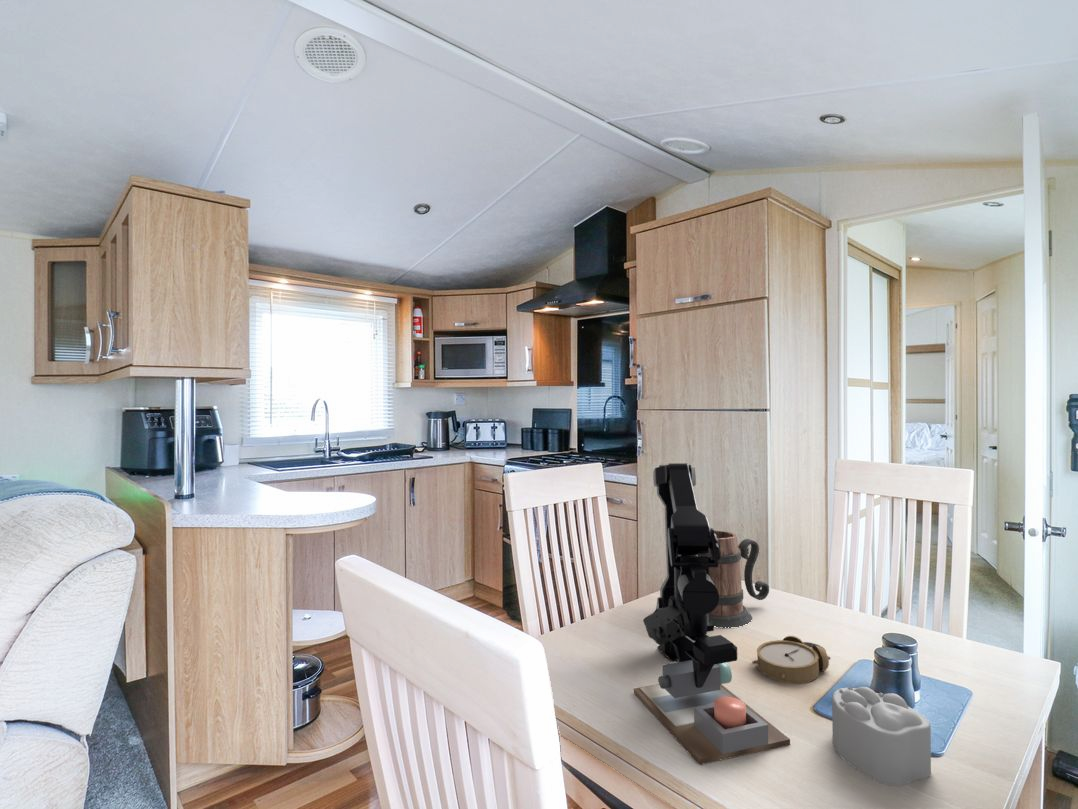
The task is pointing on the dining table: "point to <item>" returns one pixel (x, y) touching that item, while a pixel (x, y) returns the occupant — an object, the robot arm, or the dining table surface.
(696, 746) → the picture frame
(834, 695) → the lumpy-topped squat cylinder
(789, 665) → the alarm clock
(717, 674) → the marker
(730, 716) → the button
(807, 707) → the dining table surface
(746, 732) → the button housing
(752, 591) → the tankard
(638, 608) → the dining table surface
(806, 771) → the dining table surface
